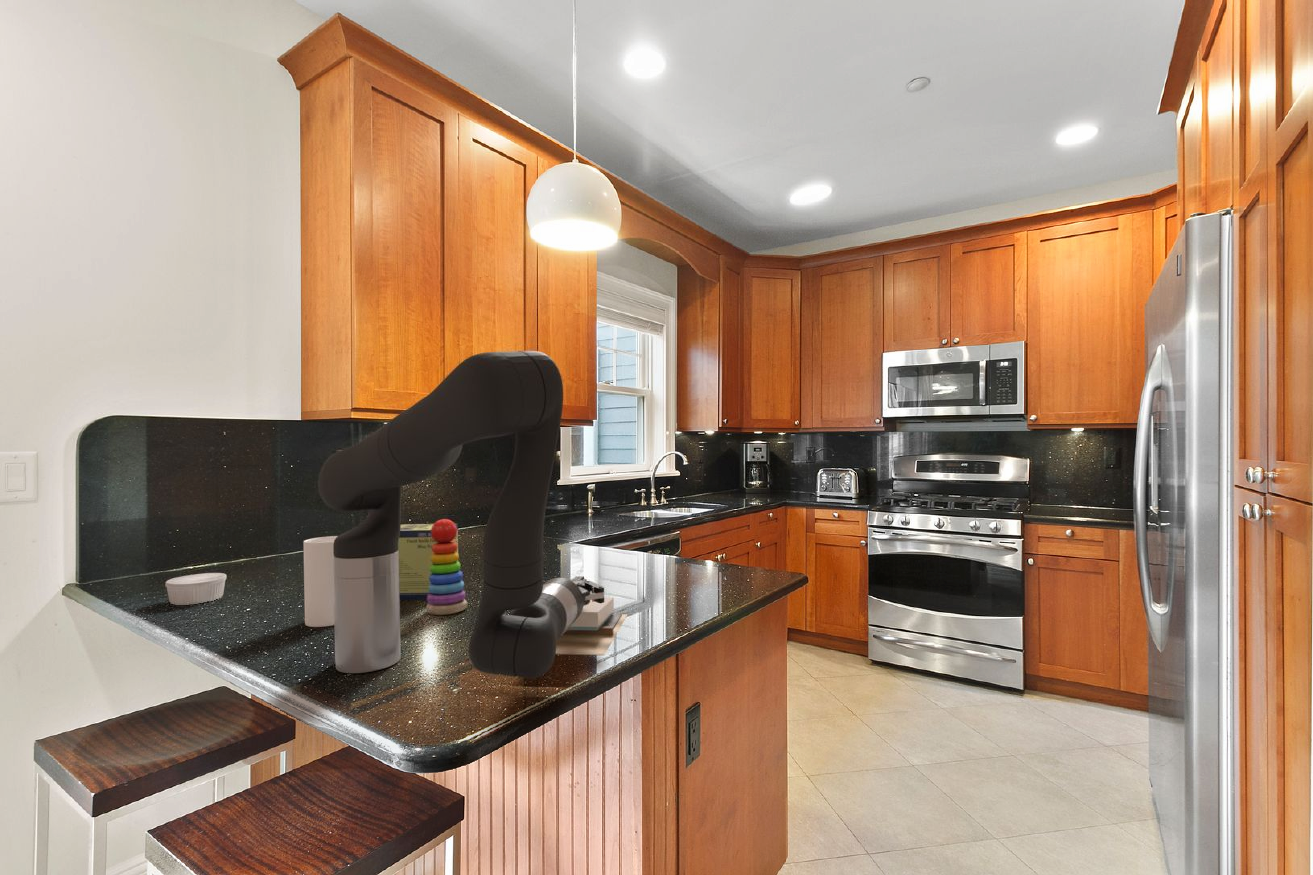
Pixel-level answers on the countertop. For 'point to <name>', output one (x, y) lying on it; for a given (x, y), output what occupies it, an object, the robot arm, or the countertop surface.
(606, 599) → the tile
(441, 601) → the stacking toy
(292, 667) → the countertop surface
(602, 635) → the board
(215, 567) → the countertop surface
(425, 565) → the protein box
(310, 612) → the cup
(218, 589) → the ramekin
